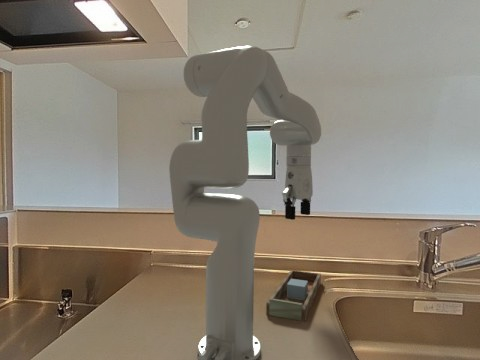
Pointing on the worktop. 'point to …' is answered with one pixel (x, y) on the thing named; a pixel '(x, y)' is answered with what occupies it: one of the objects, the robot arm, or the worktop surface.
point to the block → (297, 289)
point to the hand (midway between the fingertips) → (298, 216)
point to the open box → (293, 308)
